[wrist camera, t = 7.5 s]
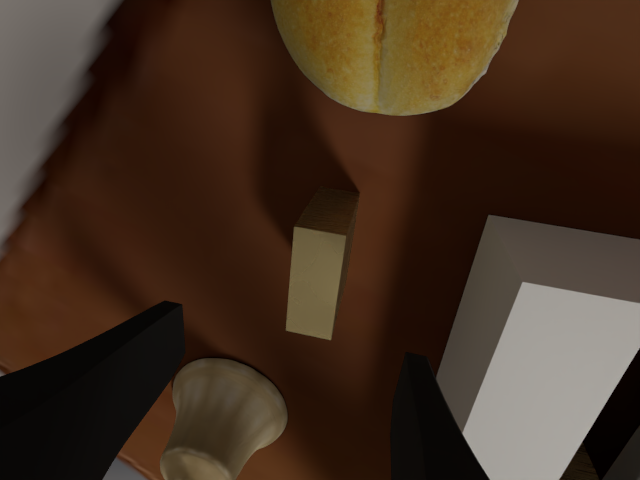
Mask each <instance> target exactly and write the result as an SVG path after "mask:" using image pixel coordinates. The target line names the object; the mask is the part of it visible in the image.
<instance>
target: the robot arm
mask: <svg viewBox="0 0 640 480" xmlns="http://www.w3.org/2000/svg"><path fill="white" fill-rule="evenodd" d="M184 354H185V339H184V323H183V308H182V304H178V303H174V302H169V301H163V302H161V303H159V304H157V305H155V306H153V307H151V308H149V309H147V310H146V311H144V312H142V313H140V314H138V315H136V316H134V317H133V318H131V319H129V320H127V321H125V322H123V323H121V324H119V325H118V326H116V327H114V328H112V329H110V330H108V331H106V332H104V333H102V334H100V335H98V336H96V337H94V338H92V339H90V340H88V341H86V342H84V343H82V344H80V345H78V346H75V347H73V348H71V349H69V350H67V351H65V352H63V353H60V354H58V355H56V356H53V357H51V358H49V359H46V360H44V361H41V362H39V363H36V364H34V365H31V366H29V367H26V368H24V369H21V370H18V371H15V372H12V373H9V374H7V375H4V376H1V377H0V480H102V479H103V477H104V476H105V474H106V472H107V471H108V469H109V467H110V466H111V464H112V462H113V461H114V459H115V457H116V456H117V454H118V453H119V451H120V450H121V448H122V447H123V445H124V444H125V442H126V441H127V440H128V438H129V437H130V435H131V434H132V433H133V431H134V430H135V429H136V427H137V426H138V425H139V423H140V422H141V420H142V419H143V418H144V416H145V415H146V414H147V412H148V411H149V409H150V408H151V407H152V405H153V404H154V403H155V401H156V400H157V398H158V397H159V396H160V394H161V393H162V391H163V390H164V389H165V387H166V386H167V384H168V383H169V382H170V380H171V378H172V377H173V375H174V373H175V371H176V369H177V368H178V366H179V364H180V362H181V360H182V358H183V356H184ZM390 441H391V480H490V479H489V477H488V476H487V474H486V473H485V471H484V470H483V468H482V466H481V465H480V463H479V462H478V460H477V458H476V457H475V455H474V453H473V452H472V450H471V448H470V446H469V444H468V443H467V441H466V439H465V437H464V436H463V434H462V432H461V430H460V428H459V426H458V424H457V422H456V420H455V418H454V416H453V414H452V412H451V410H450V408H449V406H448V404H447V402H446V400H445V398H444V396H443V393H442V391H441V389H440V387H439V384H438V382H437V379H436V377H435V375H434V372H433V369H432V367H431V364H430V361H429V359H428V358H427V357H426V356H422V355H417V354H413V353H408V352H406V353H405V357H404V361H403V365H402V369H401V372H400V376H399V380H398V384H397V387H396V391H395V395H394V399H393V407H392V419H391V432H390Z"/></svg>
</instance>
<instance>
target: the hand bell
mask: <svg viewBox="0 0 640 480" xmlns="http://www.w3.org/2000/svg"><path fill="white" fill-rule="evenodd" d="M173 402H174V406H175V408H176V411H177V413H176V421H175V425H174V428H173V431H172V434H171V436H170V439H169V441H168V444H167V446H166V448H165V450H164V452H163V454H162V457H161V460H160V470H161V473H162V475H163V477H164V479H165V480H236V478H237V476H238V474H239V473H240V471H241V469H242V468H243V466H244V464H245V463H246V461H247V460H248V459H249V457H250V456H251V455H252V454H253V453H254V452H255V451H256V450H257V449H260V448H263V447H265V446H267V445H269V444H271V443H272V442H274V441H275V440H276V439H277V438H278V437H279V436H280V435H281V434H282V432H283V431H284V429H285V427H286V424H287V419H288V413H287V408H286V404H285V401H284V399H283V397H282V395H281V393H280V392H279V391H278V389H277V388H276V387H275V385H274V384H273V383H272V382H270V381H269V380H268V379H267V378H266V377H265V376H263V375H262V374H260V373H258V372H257V371H255V370H254V369H253V368H251V367H249V366H246V365H244V364H241V363H238V362H236V361H233V360H229V359H221V358H204V359H199V360H196V361H193V362H191V363H189V364H187V365H186V366H184V367H183V368H182V369H181V370H180V371H179V372H178V374H177V375H176V377H175V380H174V383H173Z"/></svg>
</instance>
